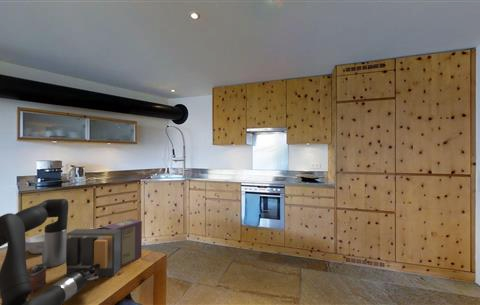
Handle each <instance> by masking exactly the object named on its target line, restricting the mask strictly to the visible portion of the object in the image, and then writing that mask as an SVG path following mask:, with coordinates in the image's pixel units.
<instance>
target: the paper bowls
mask: <svg viewBox="0 0 480 305" xmlns="http://www.w3.org/2000/svg"><path fill="white" fill-rule="evenodd" d="M44 236H45V233H43V234H38V235H34V236H31V237H28V238H27V239H26V238H25V243H26V251H28V252H30V253H31V254H35V255H36V254H37V255H38V254H42V247H43V246H44Z"/></svg>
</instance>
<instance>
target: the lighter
mask: <svg viewBox="0 0 480 305" xmlns="http://www.w3.org/2000/svg"><path fill="white" fill-rule="evenodd" d="M43 265H44V263H42V262H40V263H36V264H35V266H33V267H32V268H31V269H30V273H28V275H29V279H30V283H31V287H32V291H31V293H30V295H32V294H35V293H37V292H39V291H40V290H42V289H43V288H44V287H45V286H46V285H47V269H48V267H46V266H43Z"/></svg>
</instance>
